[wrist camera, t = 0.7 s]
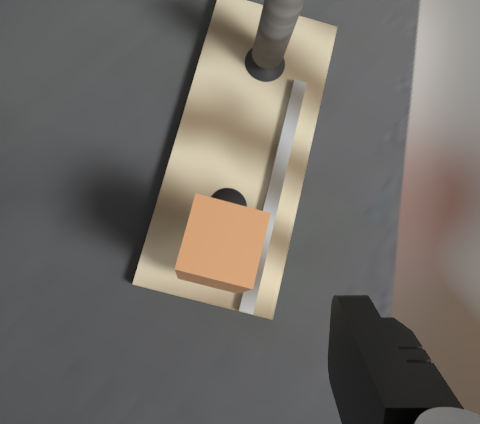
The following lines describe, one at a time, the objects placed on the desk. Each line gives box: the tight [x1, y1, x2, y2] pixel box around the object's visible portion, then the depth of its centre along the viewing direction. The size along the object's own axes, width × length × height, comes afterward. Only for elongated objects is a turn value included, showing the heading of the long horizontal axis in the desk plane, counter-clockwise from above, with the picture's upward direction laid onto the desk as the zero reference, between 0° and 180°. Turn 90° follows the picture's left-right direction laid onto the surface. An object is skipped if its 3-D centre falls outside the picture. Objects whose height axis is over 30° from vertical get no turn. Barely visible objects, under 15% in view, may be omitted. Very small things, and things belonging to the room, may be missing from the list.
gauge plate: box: [132, 0, 337, 320], centre depth 30 cm, size 24×10×10 cm, turn 166°
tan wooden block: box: [175, 193, 271, 294], centre depth 27 cm, size 4×4×9 cm
